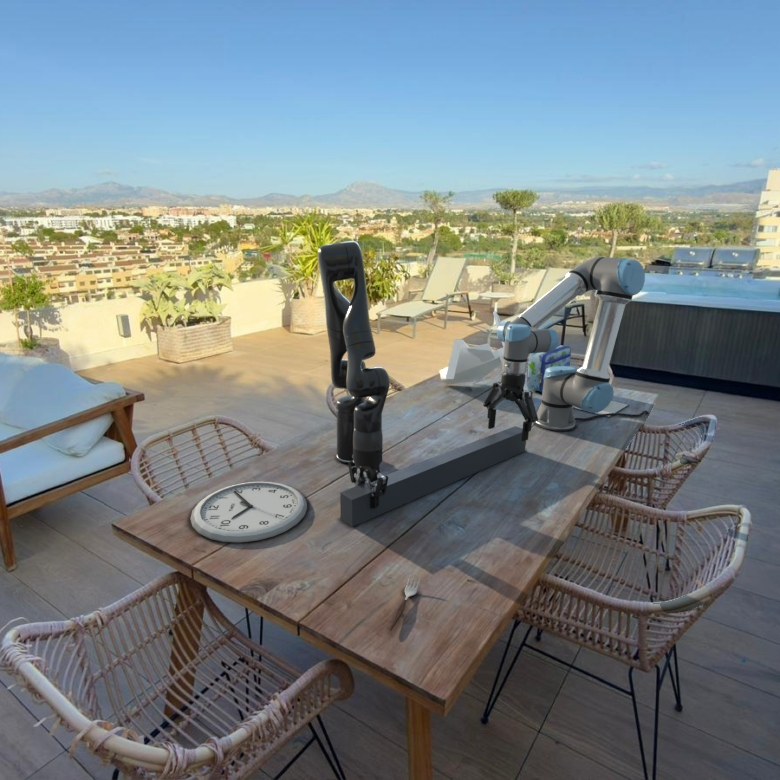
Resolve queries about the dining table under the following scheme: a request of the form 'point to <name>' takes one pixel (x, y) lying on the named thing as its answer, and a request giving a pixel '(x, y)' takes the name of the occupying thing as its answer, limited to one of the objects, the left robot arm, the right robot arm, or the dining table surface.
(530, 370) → the lunch box
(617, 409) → the invitation card
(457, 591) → the dining table surface
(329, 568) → the dining table surface
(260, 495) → the wall clock
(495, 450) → the beam
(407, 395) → the dining table surface
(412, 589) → the fork
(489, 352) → the white plastic object
